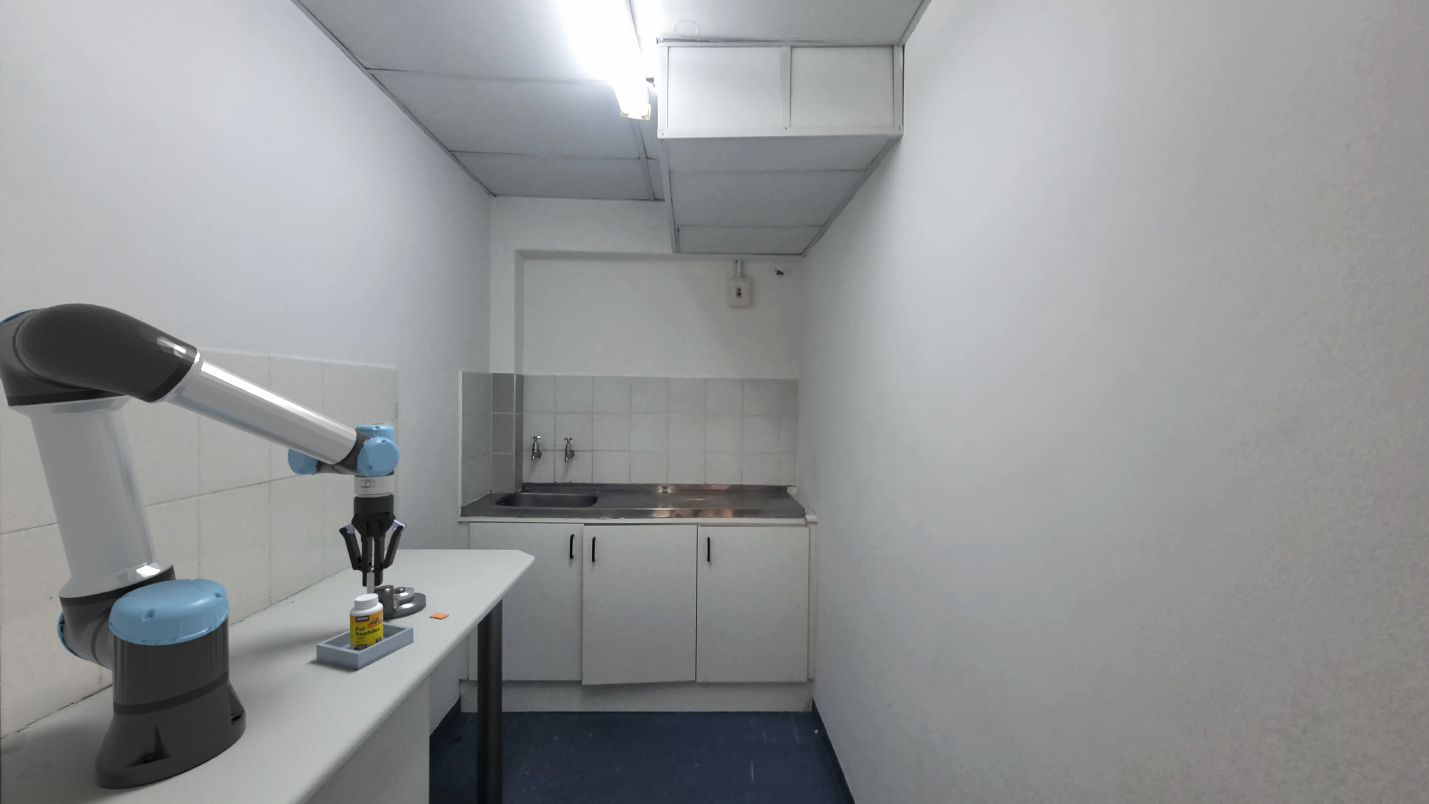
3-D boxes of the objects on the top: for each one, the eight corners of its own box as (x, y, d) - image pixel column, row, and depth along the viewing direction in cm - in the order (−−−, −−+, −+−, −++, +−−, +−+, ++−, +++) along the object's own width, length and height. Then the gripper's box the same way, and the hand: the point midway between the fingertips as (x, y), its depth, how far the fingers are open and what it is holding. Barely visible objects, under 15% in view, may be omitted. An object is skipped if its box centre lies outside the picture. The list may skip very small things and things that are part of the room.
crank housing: (395, 622, 117) (395, 613, 117) (361, 615, 121) (361, 607, 121) (436, 603, 127) (436, 595, 127) (403, 598, 131) (403, 590, 131)
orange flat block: (441, 619, 118) (441, 618, 118) (430, 617, 119) (429, 616, 119) (448, 615, 120) (448, 614, 120) (437, 613, 121) (437, 612, 121)
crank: (390, 596, 126) (390, 571, 126) (417, 594, 127) (417, 569, 127) (366, 620, 113) (365, 592, 113) (396, 617, 114) (396, 589, 114)
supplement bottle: (351, 657, 100) (349, 604, 100) (349, 646, 104) (348, 596, 104) (385, 648, 103) (384, 597, 103) (382, 638, 108) (381, 589, 108)
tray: (358, 670, 96) (358, 654, 96) (316, 659, 100) (316, 644, 100) (413, 641, 107) (413, 627, 107) (373, 633, 111) (373, 620, 111)
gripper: (333, 497, 110) (331, 609, 109) (399, 496, 112) (397, 604, 112) (350, 492, 117) (348, 596, 117) (411, 490, 120) (410, 592, 120)
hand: (372, 600), depth 114 cm, fingers closed
